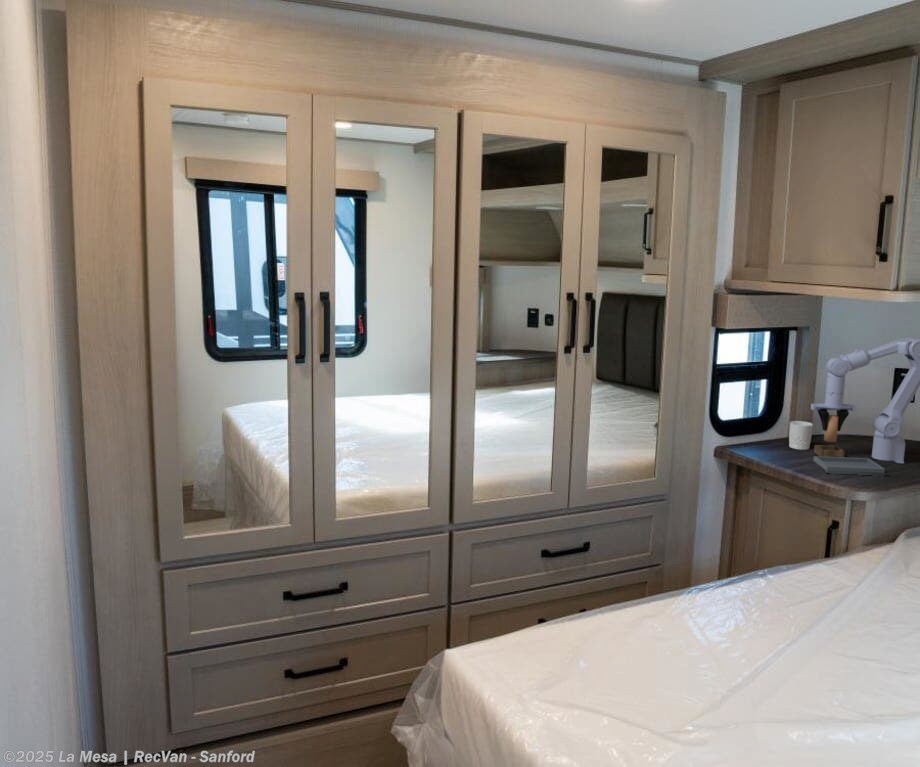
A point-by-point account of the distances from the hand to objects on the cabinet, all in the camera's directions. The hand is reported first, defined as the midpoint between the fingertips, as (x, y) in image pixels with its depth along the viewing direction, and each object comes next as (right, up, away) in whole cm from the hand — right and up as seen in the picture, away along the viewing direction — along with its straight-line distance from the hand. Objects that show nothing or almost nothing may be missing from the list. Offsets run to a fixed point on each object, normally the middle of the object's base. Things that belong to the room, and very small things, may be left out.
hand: (831, 430), depth 270 cm
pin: (0, -4, +1) cm, 4 cm away
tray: (-1, -13, -13) cm, 18 cm away
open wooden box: (0, -10, +2) cm, 10 cm away
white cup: (-6, -8, +12) cm, 16 cm away
